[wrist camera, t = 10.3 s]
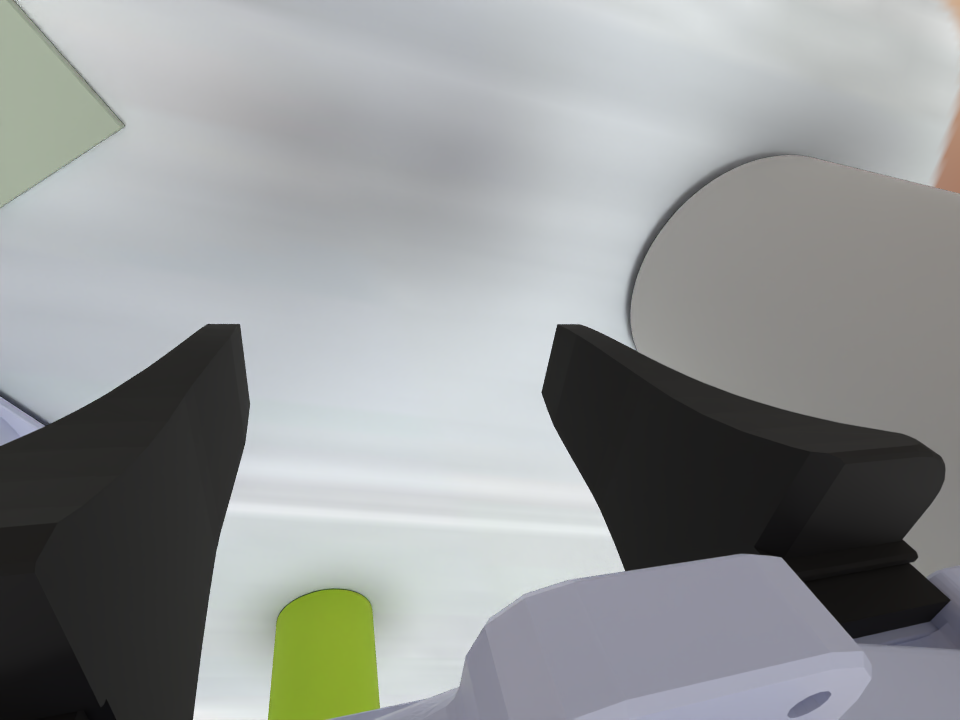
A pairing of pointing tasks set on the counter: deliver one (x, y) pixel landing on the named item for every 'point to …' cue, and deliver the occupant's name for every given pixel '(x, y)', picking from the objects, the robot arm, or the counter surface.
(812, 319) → the cylinder vase
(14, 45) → the sage mat
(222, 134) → the counter surface
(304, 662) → the soap dispenser
